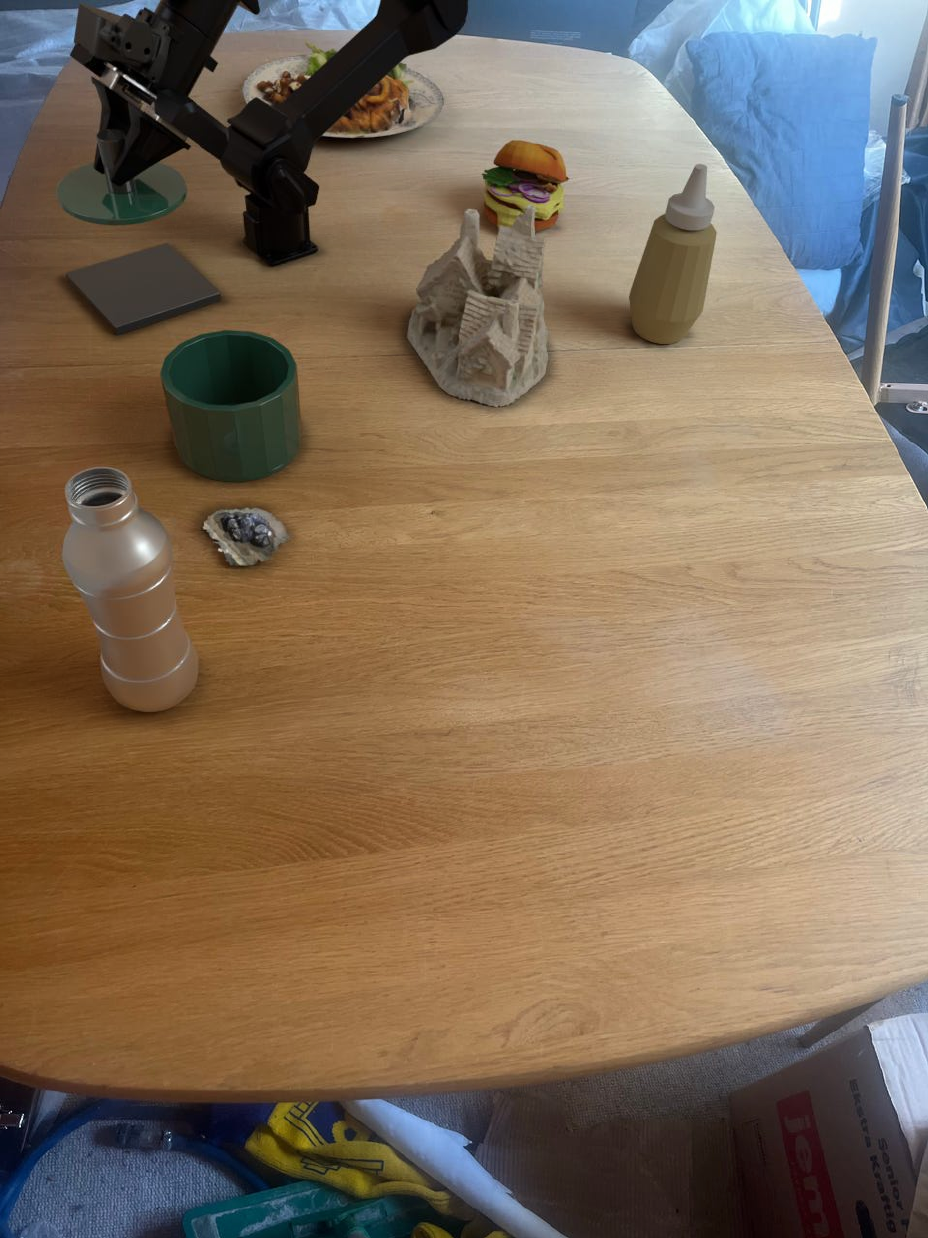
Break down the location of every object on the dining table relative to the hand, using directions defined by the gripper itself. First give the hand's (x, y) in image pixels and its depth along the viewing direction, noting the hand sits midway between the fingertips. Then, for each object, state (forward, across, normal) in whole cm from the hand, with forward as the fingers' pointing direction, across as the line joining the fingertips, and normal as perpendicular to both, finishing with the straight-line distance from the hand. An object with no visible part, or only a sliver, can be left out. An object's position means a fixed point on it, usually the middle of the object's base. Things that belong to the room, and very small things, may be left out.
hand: (106, 177), depth 92 cm
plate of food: (-24, -25, +44) cm, 56 cm away
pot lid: (0, 0, +2) cm, 2 cm away
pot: (+12, +25, +7) cm, 29 cm away
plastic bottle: (+27, +45, -8) cm, 53 cm away
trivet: (+8, -1, +11) cm, 14 cm away
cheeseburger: (-23, +11, +43) cm, 50 cm away
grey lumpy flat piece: (+17, +36, +2) cm, 40 cm away
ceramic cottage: (-6, +28, +26) cm, 39 cm away
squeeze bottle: (-20, +38, +40) cm, 58 cm away
